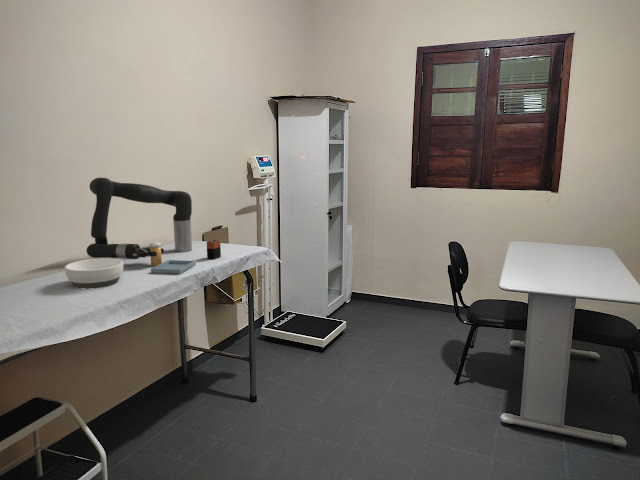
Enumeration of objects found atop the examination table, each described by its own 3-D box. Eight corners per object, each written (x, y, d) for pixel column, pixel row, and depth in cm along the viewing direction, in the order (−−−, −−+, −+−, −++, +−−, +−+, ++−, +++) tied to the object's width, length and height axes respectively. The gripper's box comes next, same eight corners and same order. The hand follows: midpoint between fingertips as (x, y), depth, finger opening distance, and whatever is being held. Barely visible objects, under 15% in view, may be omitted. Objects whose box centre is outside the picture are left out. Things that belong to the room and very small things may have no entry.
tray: (168, 264, 236) (168, 259, 236) (195, 265, 234) (195, 260, 234) (151, 273, 219) (150, 268, 219) (180, 274, 217) (179, 269, 217)
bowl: (102, 292, 189) (101, 272, 188) (53, 289, 194) (51, 268, 192) (135, 278, 211) (134, 259, 210) (90, 275, 216) (88, 257, 214)
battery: (221, 257, 253) (220, 238, 251) (213, 259, 247) (213, 240, 245) (214, 256, 255) (213, 237, 253) (206, 259, 248) (206, 240, 246)
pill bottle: (153, 263, 237) (152, 242, 235) (164, 264, 236) (163, 242, 234) (148, 266, 232) (147, 244, 230) (159, 266, 231) (157, 244, 229)
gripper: (119, 246, 227) (152, 247, 225) (135, 241, 241) (166, 242, 239) (120, 262, 229) (153, 263, 226) (136, 255, 243) (167, 256, 240)
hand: (159, 252), depth 233 cm, fingers open, 7 cm apart
